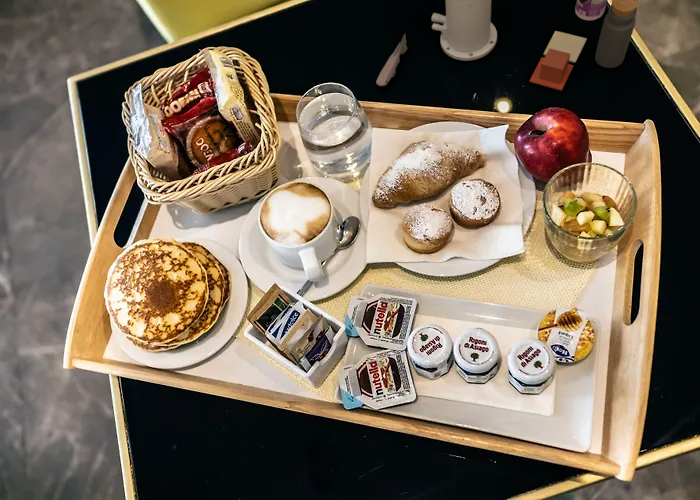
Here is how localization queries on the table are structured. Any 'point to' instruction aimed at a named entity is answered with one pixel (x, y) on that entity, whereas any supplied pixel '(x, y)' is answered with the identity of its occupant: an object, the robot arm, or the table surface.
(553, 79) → the terracotta block
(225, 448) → the table surface
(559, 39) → the cream pad
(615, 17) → the bottle
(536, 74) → the clay pad
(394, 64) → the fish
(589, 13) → the pill bottle
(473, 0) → the robot arm
